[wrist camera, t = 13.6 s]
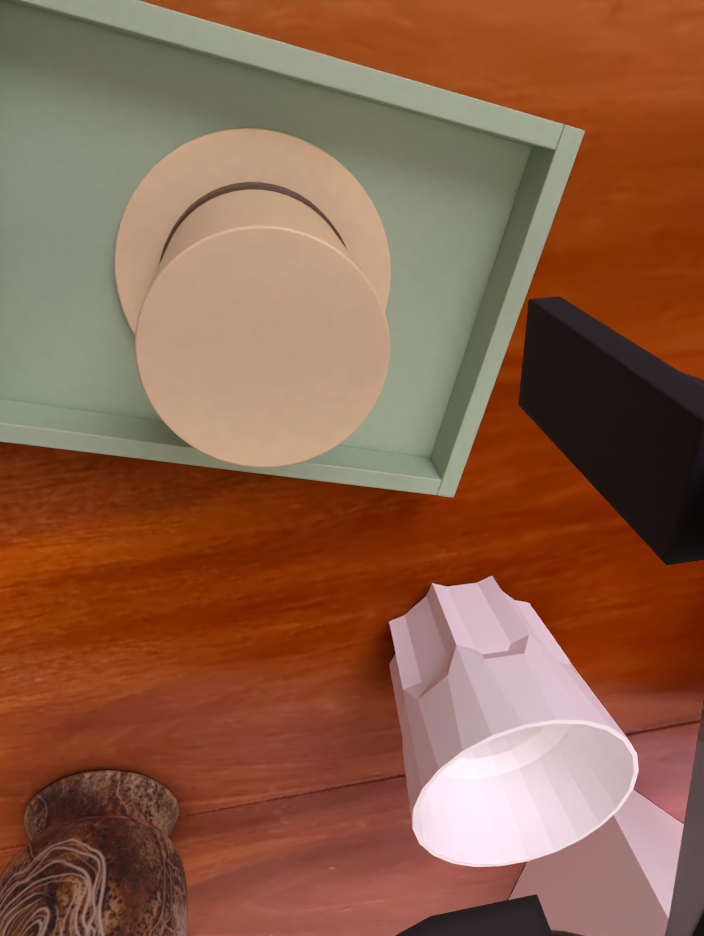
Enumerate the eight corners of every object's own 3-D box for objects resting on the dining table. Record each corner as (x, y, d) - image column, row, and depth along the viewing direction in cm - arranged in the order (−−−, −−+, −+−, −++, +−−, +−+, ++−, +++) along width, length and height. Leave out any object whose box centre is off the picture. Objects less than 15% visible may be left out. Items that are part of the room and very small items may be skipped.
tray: (-22, 406, 26) (-46, 436, 23) (-40, -45, 19) (-77, -63, 17) (437, 468, 30) (453, 498, 28) (553, 127, 24) (586, 130, 21)
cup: (371, 707, 38) (410, 882, 30) (368, 575, 33) (415, 742, 24) (533, 682, 39) (615, 845, 31) (554, 552, 34) (660, 703, 26)
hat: (60, 291, 23) (-21, 381, 16) (234, 54, 21) (234, 32, 13) (274, 444, 28) (288, 571, 20) (440, 266, 25) (526, 337, 18)
